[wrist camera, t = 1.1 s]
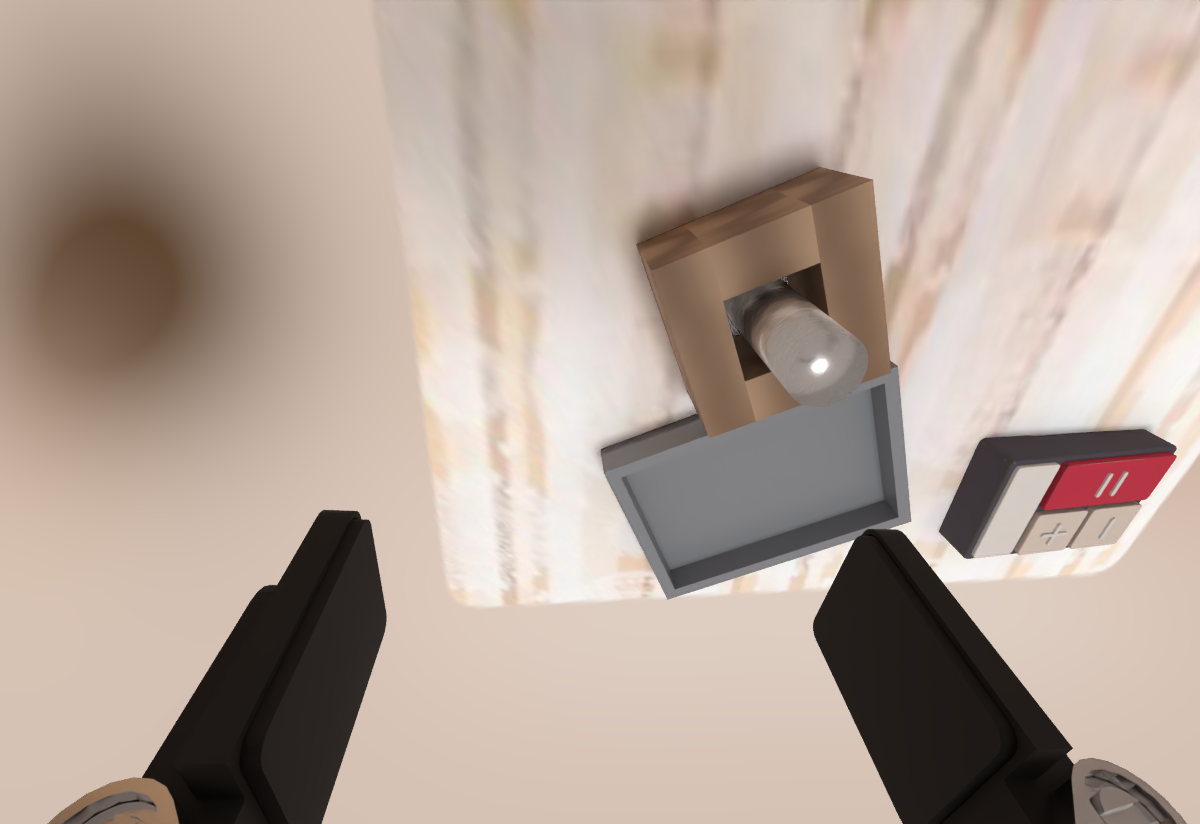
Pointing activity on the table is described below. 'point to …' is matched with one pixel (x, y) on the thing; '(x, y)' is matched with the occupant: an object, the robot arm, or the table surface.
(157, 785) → the robot arm
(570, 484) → the table surface
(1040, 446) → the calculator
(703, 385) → the block
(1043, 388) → the table surface
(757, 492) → the tray
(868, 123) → the table surface
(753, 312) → the pin
